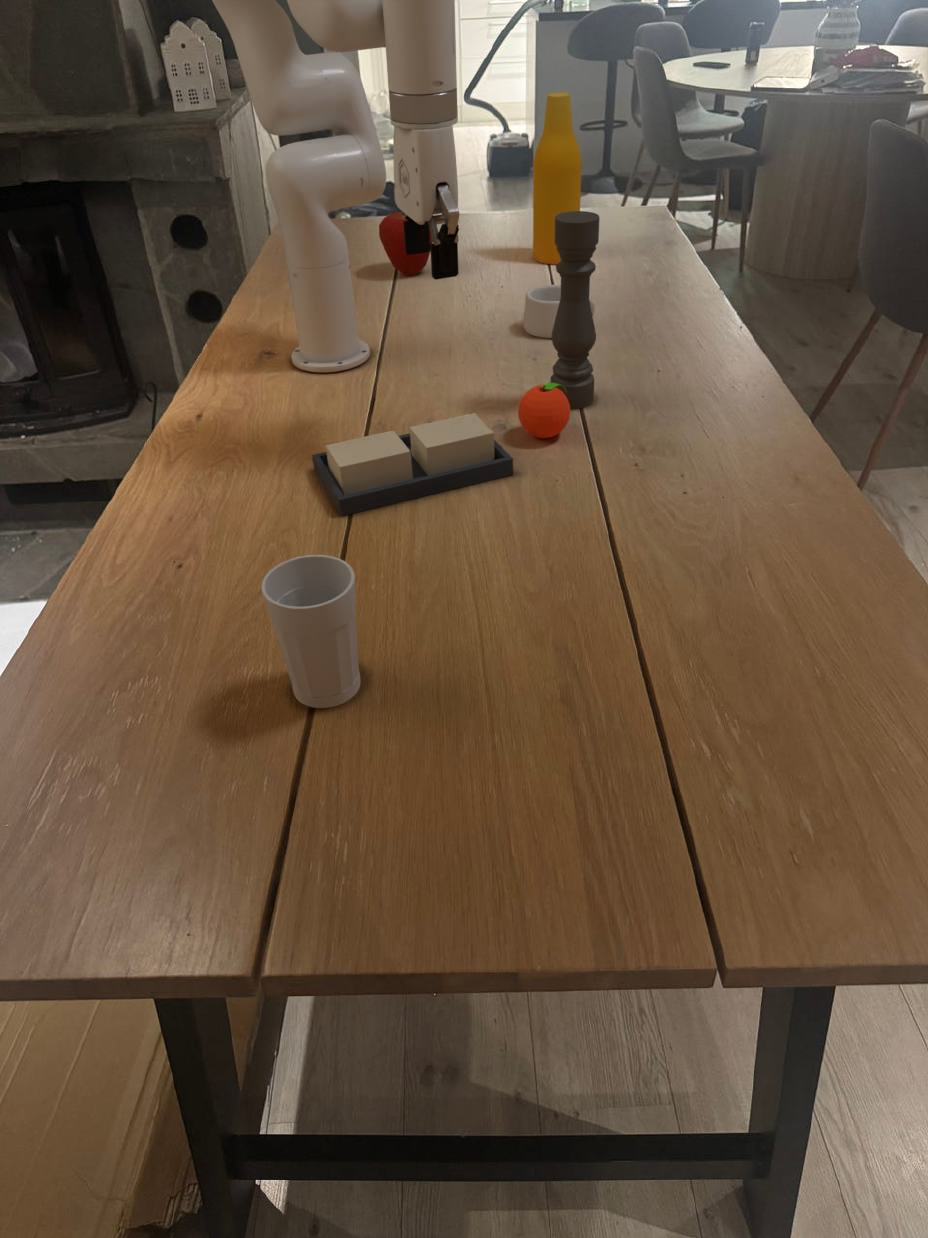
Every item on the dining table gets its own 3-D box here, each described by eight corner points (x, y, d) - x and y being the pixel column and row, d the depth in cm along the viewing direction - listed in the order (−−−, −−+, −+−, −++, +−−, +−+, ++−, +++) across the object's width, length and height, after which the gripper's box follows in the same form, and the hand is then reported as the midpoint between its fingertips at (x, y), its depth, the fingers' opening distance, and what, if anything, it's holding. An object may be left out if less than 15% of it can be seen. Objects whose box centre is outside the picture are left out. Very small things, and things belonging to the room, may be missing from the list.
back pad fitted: (329, 473, 118) (325, 444, 115) (396, 458, 120) (393, 429, 118) (343, 496, 113) (339, 467, 110) (413, 479, 115) (410, 451, 113)
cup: (287, 661, 90) (265, 558, 82) (369, 653, 90) (355, 550, 83) (281, 718, 83) (257, 612, 76) (369, 710, 84) (354, 604, 76)
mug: (526, 341, 152) (526, 304, 148) (520, 320, 160) (520, 285, 156) (598, 336, 152) (600, 300, 148) (589, 316, 160) (591, 280, 156)
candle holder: (591, 410, 130) (599, 223, 115) (547, 408, 132) (549, 223, 116) (595, 391, 135) (603, 210, 120) (553, 389, 136) (555, 210, 121)
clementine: (546, 416, 130) (547, 367, 125) (585, 431, 125) (587, 381, 121) (507, 436, 125) (506, 386, 121) (546, 452, 121) (546, 401, 117)
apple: (406, 261, 189) (401, 198, 182) (448, 268, 184) (445, 204, 176) (371, 276, 182) (364, 211, 175) (414, 285, 177) (409, 218, 170)
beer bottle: (580, 264, 183) (586, 97, 165) (533, 265, 183) (534, 99, 165) (576, 250, 190) (581, 88, 172) (531, 251, 190) (532, 91, 172)
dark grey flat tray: (314, 470, 120) (311, 454, 119) (474, 434, 126) (474, 418, 125) (341, 516, 111) (338, 499, 109) (513, 474, 117) (513, 458, 115)
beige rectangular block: (411, 455, 120) (409, 426, 118) (475, 440, 123) (474, 412, 121) (428, 476, 116) (426, 447, 113) (494, 461, 118) (493, 432, 116)
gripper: (368, 97, 108) (380, 248, 119) (417, 126, 95) (426, 292, 106) (429, 91, 110) (435, 240, 121) (484, 118, 97) (486, 282, 108)
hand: (431, 264), depth 113 cm, fingers open, 9 cm apart
